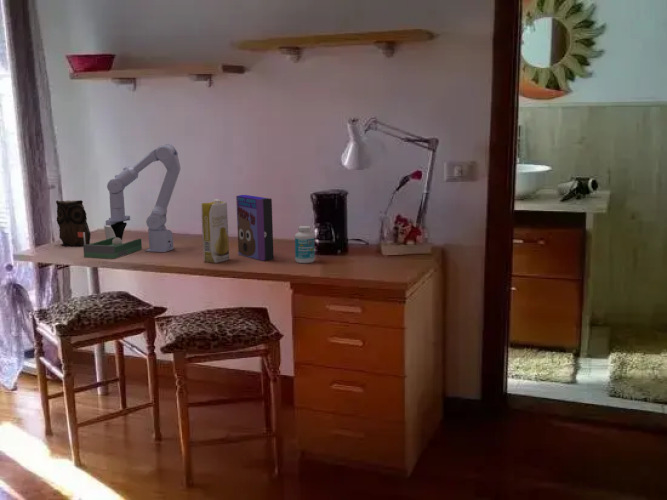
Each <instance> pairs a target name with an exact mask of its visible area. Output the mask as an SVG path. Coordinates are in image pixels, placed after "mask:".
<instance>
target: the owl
mask: <svg viewBox="0 0 667 500" xmlns="http://www.w3.org/2000/svg"><path fill="white" fill-rule="evenodd" d="M55 204H56V214H57V216H56V222H57V224H58V227H59V229H58V232H59V239H60V240H61V242H62V244H61V246H62V247H72V248H73V247H76V248H78V247H80V248H81V247H83V245H84V237H78V232H85V241H86V244H87V245H89V244H91V236H92V235H91V231H90V228H89V225H88V221H87V219H88V218H87V212H86V210H85V207H84V205H83V200H82V199H81V200H56V201H55Z"/></svg>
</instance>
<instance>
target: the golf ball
mask: <svg viewBox="0 0 667 500" xmlns="http://www.w3.org/2000/svg"><path fill="white" fill-rule="evenodd" d="M112 244H113V245H114V246H117V245H121V244H123V239H122V240H121V239H120V238H118V237H116V238H114V239H113V241H112Z"/></svg>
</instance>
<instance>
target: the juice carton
mask: <svg viewBox="0 0 667 500" xmlns="http://www.w3.org/2000/svg"><path fill="white" fill-rule="evenodd" d="M200 206H201V207H200V213H201V215H200V216H201V230H202V231H201V233H202V249H203V250H202V251H203V260H204V261H203V262H205V263H207V262H208V263H212V264H213V263H214V264H218V263H221V262H225V261H228V260H230V247H229V246H230V245H229V223H228V222H229V220H228V219H229V218H228V203H227V201H221V200H220V199H217V198H216V199H213V201H210V202H202V203H201V204H200Z"/></svg>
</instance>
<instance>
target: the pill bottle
mask: <svg viewBox="0 0 667 500" xmlns="http://www.w3.org/2000/svg"><path fill="white" fill-rule="evenodd" d="M311 230H312V228H311V226H309V225H300V226H298V232H296V233H295V235H294V257H295V258H294V261H295V262H296V263H299V264H309V263H310V264H311V263H314V262H315V258H316V255H315V251H316V250H315V234H314V233H313V232H312V231H311Z"/></svg>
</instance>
